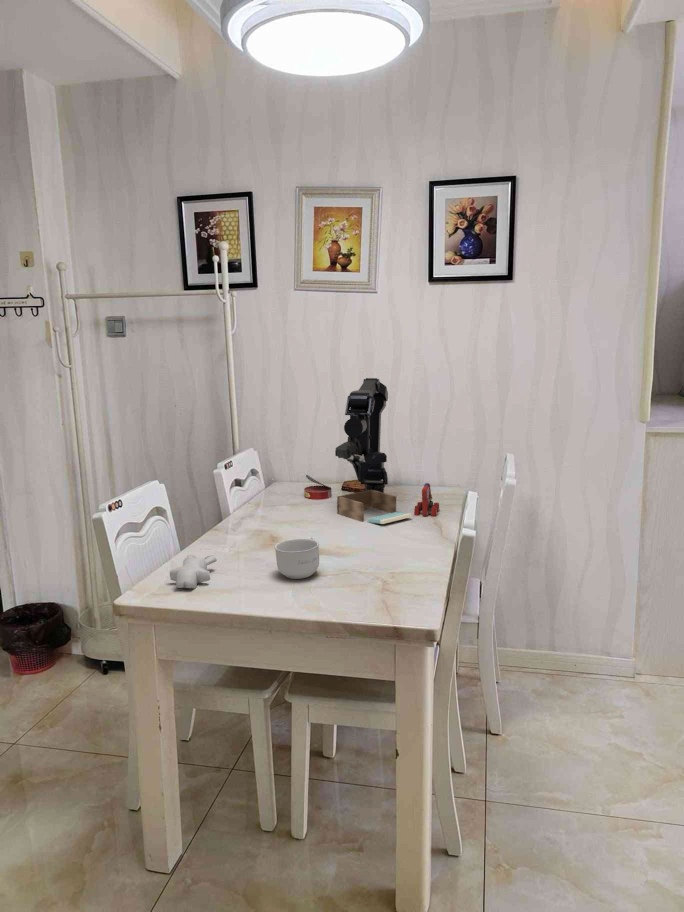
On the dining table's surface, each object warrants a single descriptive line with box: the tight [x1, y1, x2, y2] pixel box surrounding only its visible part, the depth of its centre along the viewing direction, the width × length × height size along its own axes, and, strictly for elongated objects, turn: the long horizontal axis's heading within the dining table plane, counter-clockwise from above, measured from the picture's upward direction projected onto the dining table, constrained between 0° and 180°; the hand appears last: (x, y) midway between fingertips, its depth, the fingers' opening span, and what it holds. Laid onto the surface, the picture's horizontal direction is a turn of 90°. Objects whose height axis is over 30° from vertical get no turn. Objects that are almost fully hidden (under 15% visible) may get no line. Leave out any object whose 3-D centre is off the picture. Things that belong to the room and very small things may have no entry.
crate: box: [336, 490, 397, 523], centre depth 216 cm, size 12×14×7 cm
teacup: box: [274, 536, 320, 580], centre depth 167 cm, size 14×11×8 cm
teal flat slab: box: [367, 511, 412, 525], centre depth 208 cm, size 1×12×7 cm
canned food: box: [303, 474, 333, 501], centre depth 244 cm, size 11×10×10 cm
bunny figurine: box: [169, 554, 218, 589], centre depth 163 cm, size 10×5×15 cm
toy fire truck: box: [413, 482, 440, 518], centre depth 217 cm, size 7×12×10 cm, turn 165°
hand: (360, 481), depth 213 cm, fingers closed
